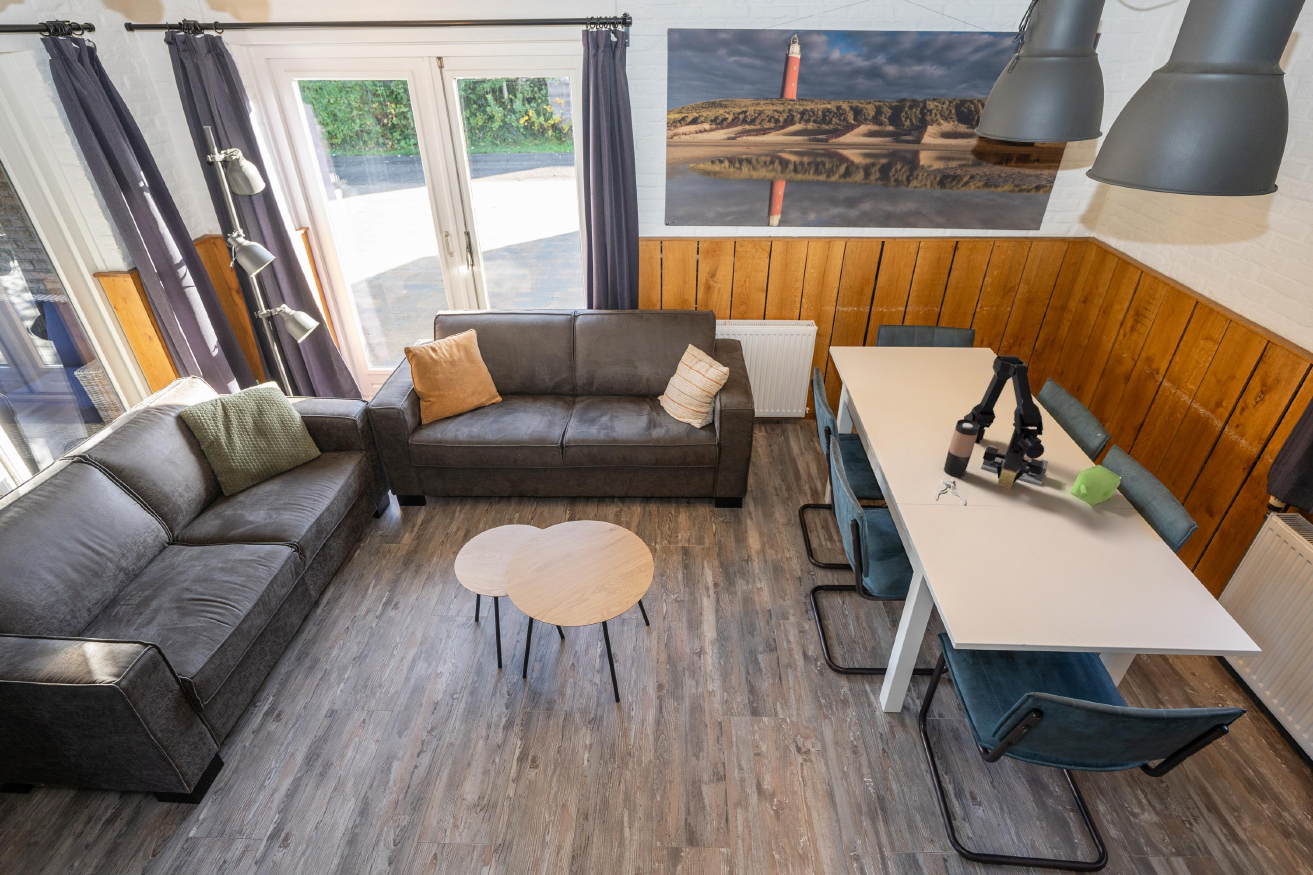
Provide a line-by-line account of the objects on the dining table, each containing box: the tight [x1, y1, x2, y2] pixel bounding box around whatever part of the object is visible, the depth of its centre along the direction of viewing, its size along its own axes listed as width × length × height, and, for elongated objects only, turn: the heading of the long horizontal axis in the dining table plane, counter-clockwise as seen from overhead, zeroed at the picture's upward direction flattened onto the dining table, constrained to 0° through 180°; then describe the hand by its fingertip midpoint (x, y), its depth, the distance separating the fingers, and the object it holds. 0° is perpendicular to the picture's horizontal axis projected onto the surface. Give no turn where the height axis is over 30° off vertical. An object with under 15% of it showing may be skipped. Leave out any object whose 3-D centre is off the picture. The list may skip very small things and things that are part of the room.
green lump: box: [1070, 464, 1122, 506], centre depth 230 cm, size 18×10×10 cm, turn 117°
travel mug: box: [943, 418, 980, 478], centre depth 239 cm, size 8×8×20 cm
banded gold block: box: [997, 468, 1017, 489], centre depth 237 cm, size 6×5×6 cm
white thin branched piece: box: [934, 475, 966, 506], centre depth 233 cm, size 10×2×15 cm
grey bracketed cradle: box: [980, 444, 1049, 487], centre depth 244 cm, size 20×10×6 cm, turn 58°
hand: (1006, 480), depth 238 cm, fingers closed on banded gold block, 5 cm apart
